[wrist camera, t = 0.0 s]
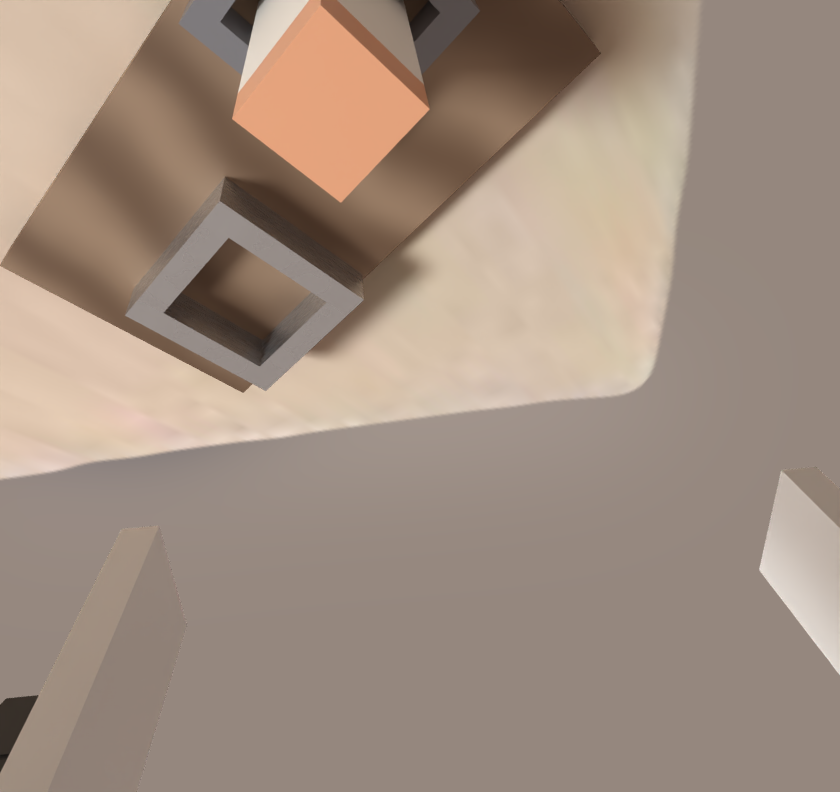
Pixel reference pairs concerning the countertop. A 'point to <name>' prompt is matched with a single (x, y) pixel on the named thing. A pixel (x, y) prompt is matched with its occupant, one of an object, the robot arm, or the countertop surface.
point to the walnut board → (273, 168)
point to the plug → (331, 86)
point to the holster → (232, 32)
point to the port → (273, 243)
